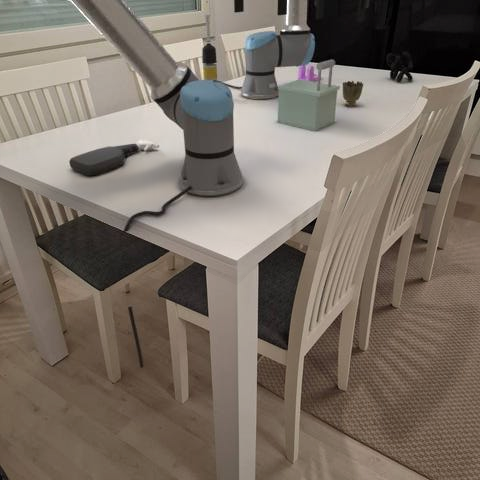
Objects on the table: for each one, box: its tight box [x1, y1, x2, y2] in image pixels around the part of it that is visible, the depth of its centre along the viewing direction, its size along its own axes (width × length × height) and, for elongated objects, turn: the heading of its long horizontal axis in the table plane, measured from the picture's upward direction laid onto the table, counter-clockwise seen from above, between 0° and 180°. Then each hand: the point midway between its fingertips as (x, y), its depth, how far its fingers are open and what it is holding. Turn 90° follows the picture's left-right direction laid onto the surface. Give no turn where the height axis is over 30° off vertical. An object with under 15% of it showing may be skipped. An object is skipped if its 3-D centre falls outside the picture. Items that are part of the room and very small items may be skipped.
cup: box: [342, 80, 364, 107], centre depth 165 cm, size 7×7×8 cm
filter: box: [201, 14, 218, 82], centre depth 171 cm, size 6×6×30 cm
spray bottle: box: [68, 139, 160, 177], centre depth 124 cm, size 3×11×24 cm
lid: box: [278, 58, 341, 97], centre depth 143 cm, size 16×12×9 cm
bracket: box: [297, 65, 318, 82], centre depth 202 cm, size 13×6×7 cm, turn 143°
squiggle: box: [385, 51, 414, 83], centre depth 198 cm, size 11×10×15 cm
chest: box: [277, 88, 338, 132], centre depth 148 cm, size 15×12×11 cm
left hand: (259, 13), depth 109 cm, fingers open, 13 cm apart
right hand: (339, 20), depth 129 cm, fingers open, 13 cm apart
